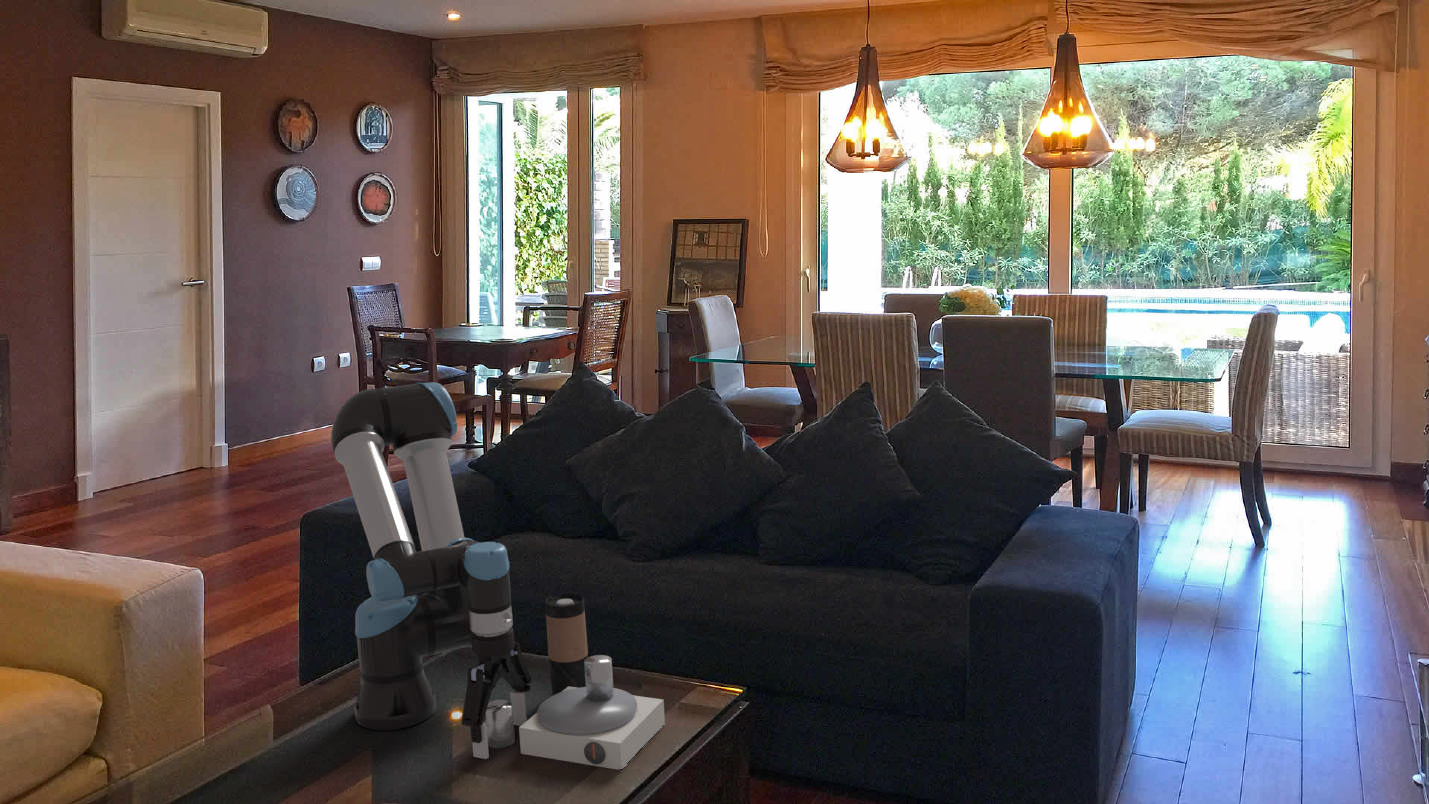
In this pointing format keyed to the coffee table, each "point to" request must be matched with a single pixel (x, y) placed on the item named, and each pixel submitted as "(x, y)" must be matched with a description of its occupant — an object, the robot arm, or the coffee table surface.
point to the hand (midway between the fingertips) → (501, 740)
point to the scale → (592, 728)
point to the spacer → (499, 724)
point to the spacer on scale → (599, 678)
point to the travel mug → (566, 641)
